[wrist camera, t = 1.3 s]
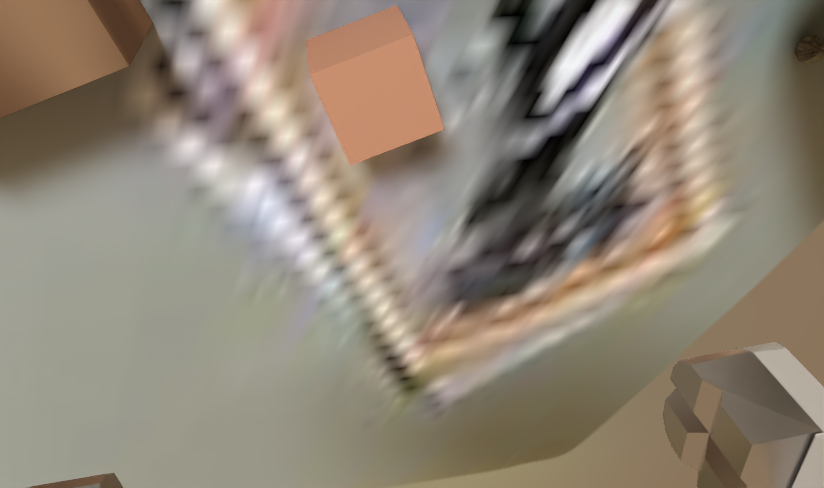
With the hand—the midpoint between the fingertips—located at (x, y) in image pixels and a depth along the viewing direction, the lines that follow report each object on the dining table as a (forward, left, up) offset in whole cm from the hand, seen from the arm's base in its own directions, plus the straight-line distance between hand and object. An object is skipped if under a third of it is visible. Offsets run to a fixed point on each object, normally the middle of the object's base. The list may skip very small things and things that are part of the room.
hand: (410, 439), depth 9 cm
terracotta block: (-1, +5, -28) cm, 28 cm away
